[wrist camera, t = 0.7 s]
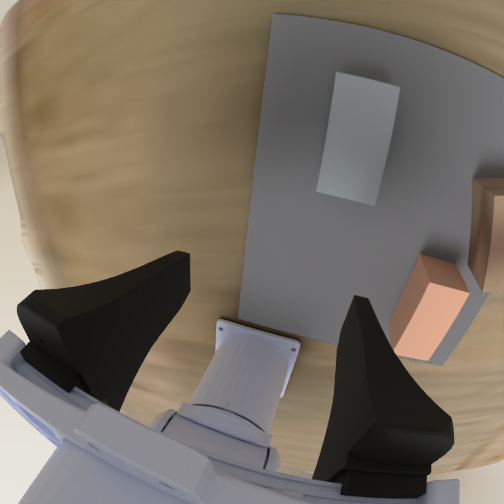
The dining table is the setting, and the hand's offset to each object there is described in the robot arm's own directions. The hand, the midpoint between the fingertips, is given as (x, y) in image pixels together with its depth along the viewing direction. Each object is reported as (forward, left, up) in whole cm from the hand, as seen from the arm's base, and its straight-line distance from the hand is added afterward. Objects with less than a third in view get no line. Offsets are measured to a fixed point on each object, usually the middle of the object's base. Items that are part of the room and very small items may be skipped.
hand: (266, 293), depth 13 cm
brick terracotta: (-4, -11, -9) cm, 14 cm away
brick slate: (+6, -3, -9) cm, 11 cm away
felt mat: (+1, -7, -9) cm, 11 cm away
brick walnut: (+3, -14, -9) cm, 17 cm away
